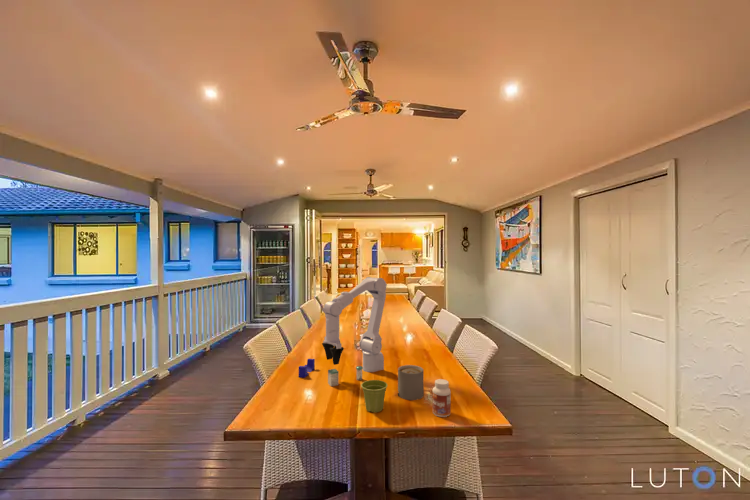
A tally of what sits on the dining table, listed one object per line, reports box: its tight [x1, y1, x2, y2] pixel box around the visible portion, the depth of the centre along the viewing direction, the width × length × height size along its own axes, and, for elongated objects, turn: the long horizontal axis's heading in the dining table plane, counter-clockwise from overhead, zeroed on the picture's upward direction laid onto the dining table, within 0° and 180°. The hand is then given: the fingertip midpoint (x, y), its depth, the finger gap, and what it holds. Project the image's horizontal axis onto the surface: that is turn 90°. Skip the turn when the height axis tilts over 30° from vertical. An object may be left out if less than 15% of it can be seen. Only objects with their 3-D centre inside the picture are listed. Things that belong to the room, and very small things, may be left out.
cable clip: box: [298, 358, 316, 378], centre depth 156 cm, size 12×4×6 cm, turn 170°
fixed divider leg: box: [355, 365, 363, 381], centre depth 148 cm, size 3×3×6 cm
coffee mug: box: [397, 364, 424, 401], centre depth 137 cm, size 13×10×10 cm
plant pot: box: [360, 379, 388, 413], centre depth 123 cm, size 9×9×9 cm
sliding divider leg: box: [327, 368, 339, 387], centre depth 142 cm, size 3×4×6 cm
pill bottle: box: [432, 378, 452, 418], centre depth 119 cm, size 6×6×11 cm
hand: (332, 361), depth 147 cm, fingers open, 7 cm apart
